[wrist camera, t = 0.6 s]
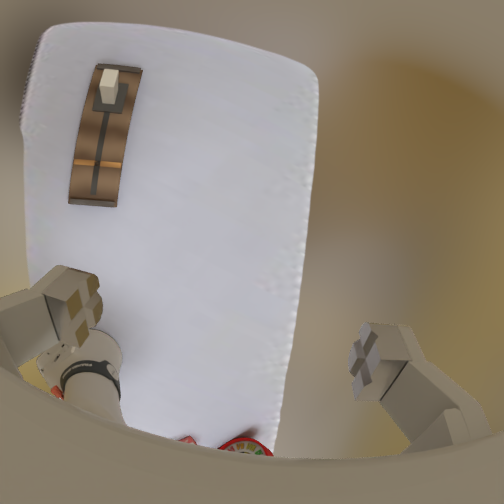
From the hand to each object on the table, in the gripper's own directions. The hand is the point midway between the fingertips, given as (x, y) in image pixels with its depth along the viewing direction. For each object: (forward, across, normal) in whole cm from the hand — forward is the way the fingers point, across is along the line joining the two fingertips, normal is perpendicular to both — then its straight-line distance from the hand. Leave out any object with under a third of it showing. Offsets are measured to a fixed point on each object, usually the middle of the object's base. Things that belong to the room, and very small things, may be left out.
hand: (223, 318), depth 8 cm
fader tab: (+45, -31, +7) cm, 55 cm away
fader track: (+45, -32, -1) cm, 55 cm away
